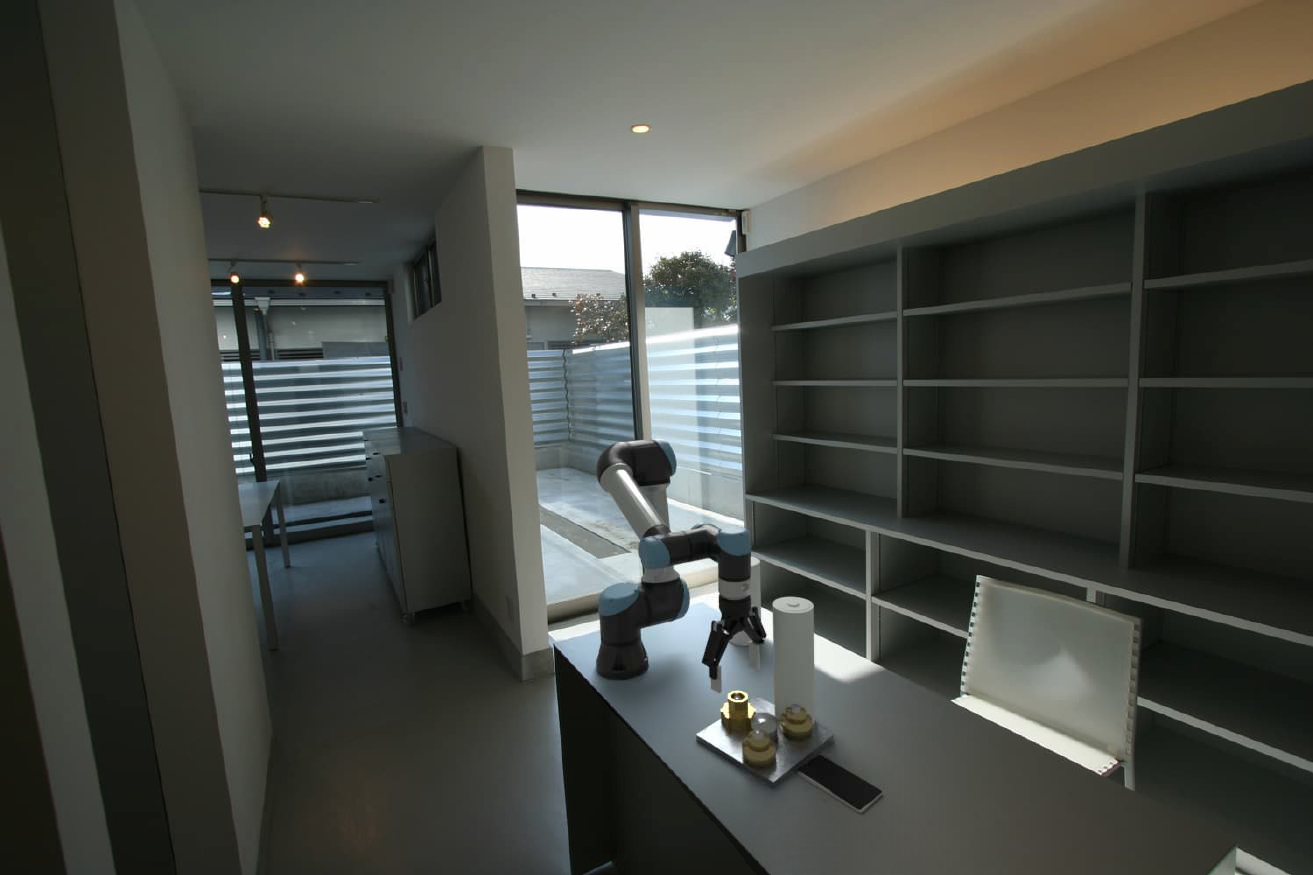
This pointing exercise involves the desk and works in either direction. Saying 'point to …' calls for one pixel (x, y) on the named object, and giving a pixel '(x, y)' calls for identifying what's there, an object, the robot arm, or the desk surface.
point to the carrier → (768, 742)
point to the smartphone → (840, 783)
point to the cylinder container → (793, 655)
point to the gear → (737, 712)
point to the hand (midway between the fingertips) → (735, 679)
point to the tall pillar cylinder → (742, 637)
